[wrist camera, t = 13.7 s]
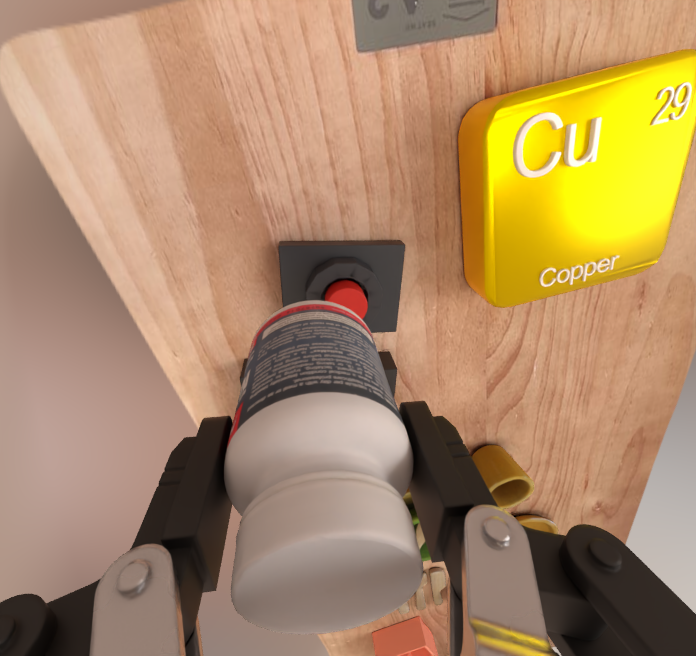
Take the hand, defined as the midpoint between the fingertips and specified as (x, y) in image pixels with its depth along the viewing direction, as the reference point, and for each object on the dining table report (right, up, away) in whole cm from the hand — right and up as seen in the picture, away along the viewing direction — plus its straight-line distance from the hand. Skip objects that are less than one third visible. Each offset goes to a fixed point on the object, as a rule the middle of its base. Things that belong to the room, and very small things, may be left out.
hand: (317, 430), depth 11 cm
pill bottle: (-1, +2, +4) cm, 5 cm away
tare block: (0, +7, +19) cm, 20 cm away
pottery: (+13, -59, +57) cm, 83 cm away
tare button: (+1, +6, +17) cm, 18 cm away
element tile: (+17, +15, +17) cm, 29 cm away
